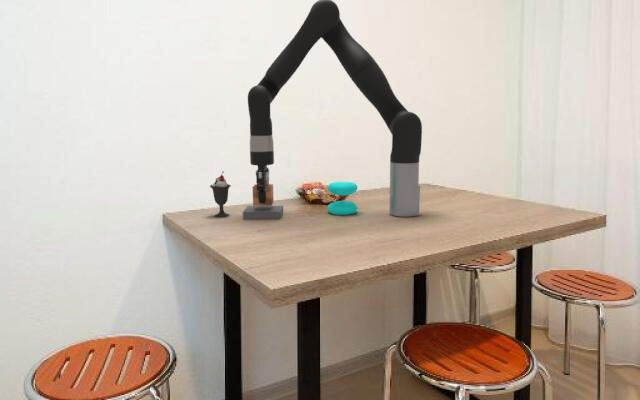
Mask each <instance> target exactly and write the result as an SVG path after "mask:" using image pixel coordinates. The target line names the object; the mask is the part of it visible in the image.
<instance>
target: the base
mask: <svg viewBox="0 0 640 400" xmlns="http://www.w3.org/2000/svg"><path fill="white" fill-rule="evenodd" d="M283 216H284V205H272V206H253V205H247V206H246V207H245V208H244V210H243V211H242V220H244V221H246V220H247V221H250V220H252V221H253V220H257V221H260V220H263V221H264V220H268V221H269V220H282V218H283Z"/></svg>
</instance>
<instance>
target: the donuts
mask: <svg viewBox="0 0 640 400" xmlns="http://www.w3.org/2000/svg"><path fill="white" fill-rule="evenodd" d="M357 190H358V184H356V183H355V182H351V181H350V182H349V181H335V182H334V181H333V182H329V184H328V185H327V191H328V192H329V193H330V194H332V195H335V196H350V195H353V194H355V193H356V192H357ZM327 210H328V212H329V214H332V215H337V216H345V215H346V216H348V215H349V216H350V215H353V214H355V213H357V211H358V206H357V204H356V203H355V202H353V201H348V200H337V201H336V200H335V201H333V202H331V203H329V204H328V206H327Z"/></svg>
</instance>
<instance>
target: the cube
mask: <svg viewBox="0 0 640 400" xmlns="http://www.w3.org/2000/svg"><path fill="white" fill-rule="evenodd" d="M260 187H263V185H260ZM251 188H252V206H273V204H274V202H275V201H274V184H272V183H269V184H267V185H266V203H259V193H258V191H257V183H256V184H254V185H253V186H252V187H251Z"/></svg>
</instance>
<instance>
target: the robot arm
mask: <svg viewBox="0 0 640 400" xmlns="http://www.w3.org/2000/svg"><path fill="white" fill-rule="evenodd" d="M320 39H322V40H323V41H324V42H325V43H326V45H328V46H329V48H330V49H331V51H333V53H334V54H335V57H336V58H337V59H338V61H339V62H340V64H341V66H342V67H343V69H344V71H345V72H346V74H347V75H348V76H349V78H350V79H351V81H352V83H354V85H355V86H356V87H357V88H358V90H359V91H360V92H361V93H362V95H363V96H364V98H366V99H367V101H368V102H369V103H370V104H371V105H372V106H373V107H374V108H375V109H376V111H377V112H378V113H379V115H380V117H381V119H382V120H383V121H384V123H385V124H386V126H387V129H388V130H389V131H390V134H391V138H392V141H391V151H390V155H389V157H390V158H389V164H390V165H389V206H388V207H389V208H388V209H389V211H388V213H389V215H390V216H395V217H405V218H406V217H407V218H409V217H416V216H420V204H421V203H420V202H421V201H420V200H421V198H420V197H421V195H420V194H421V186H420V185H419V180H420V179H419V178H420V177H419V176H420V175H419V174H420V157H421V154H422V153H421V152H422V140H423V139H422V136H423V131H422V130H423V124H422V120H421V118H420V117H419V115H417V114H416V113H414V112H411V111H409V110H408V109H407V108H406V107H405V106H404V105H403V104H402V102H400V101H399V99H398V97H396V95H395V93H394V92H393V89H392V87H391V85H390V82H389V81H388V78H387V77H386V75H385V73H384V71H383V70H382V68H381V67H380V66H379V64H378V63H377V61H376V60H375V58H374V57H373V56H372V55H371V54H370V53H369V52H368V51H367V50H366V49H365V47H363V46H362V45H361V44H360V43H359V42H358V41H356V40H355V38H353V36H352V35H351V33H350V32H349V31H348V29H347V28H346V26H345V25H344V23H343V20H342V19H341V13H340V9H339V6H338V5H337V4H336V2H335V1H334V0H316V2H314V4H312V6H311V8H310V9H309V12H308V14H307V16H306V17H305V20H304V21H303V23H302V24H301V26H300V28H299V29H298V31H297V32H296V33H295V35H294V37H293V38H291V40H290V41H289V43H288V44H287V45H286V47H284V49H283V50H282V51H281V52H280V54H278V55H277V57H276V58H275V60H273V62H272V63H271V65H270V66H269V67H268V69H267V70H266V72H265V74H264V76H263V78H262V79H260V81H259V82H258V84H257V85H255V86H254V85H253V86H252V87H251V88H250V89H249V91H248V94H247V106H248V115H249V137H250V138H249V159H250V165H252V166H257V169H256V170H255V177H256V180H255V182H256V184H257V191H258V193H259V203H266V185H267V184H270V169H269V167H268V166H272V165H273V164H274V163H275V158H274V157H275V154H274V153H275V152H274V139H273V138H274V137H273V121H272V118H271V104H272V103H273V101H274V99H276V97H277V96H278V94H279V92H280V91H281V90H282V88H283V87H284V86H285V85H286V84H287V83H288V81H289V80H290V79H291V78H292V76H293V75H294V74H295V73H296V71H297V70H298V69H299V67H300V65H302V63H303V61H304V60H305V58H306V57H307V55H308V54H309V52H310V51H311V49H312V48H314V46H315V44H317V43H318V41H319V40H320ZM260 185H263V187H260Z"/></svg>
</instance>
